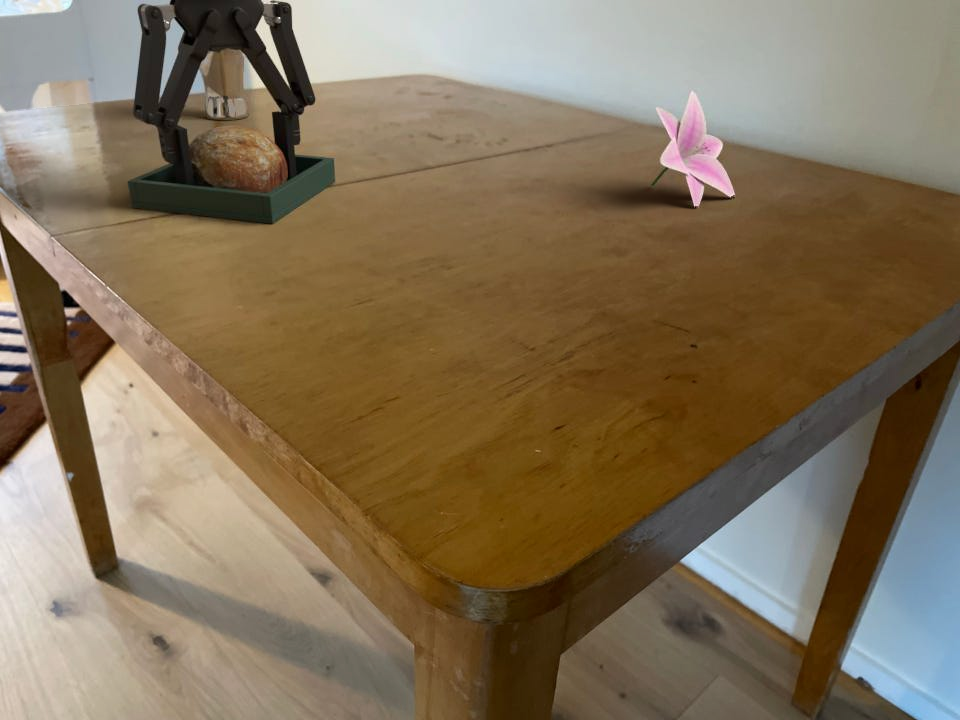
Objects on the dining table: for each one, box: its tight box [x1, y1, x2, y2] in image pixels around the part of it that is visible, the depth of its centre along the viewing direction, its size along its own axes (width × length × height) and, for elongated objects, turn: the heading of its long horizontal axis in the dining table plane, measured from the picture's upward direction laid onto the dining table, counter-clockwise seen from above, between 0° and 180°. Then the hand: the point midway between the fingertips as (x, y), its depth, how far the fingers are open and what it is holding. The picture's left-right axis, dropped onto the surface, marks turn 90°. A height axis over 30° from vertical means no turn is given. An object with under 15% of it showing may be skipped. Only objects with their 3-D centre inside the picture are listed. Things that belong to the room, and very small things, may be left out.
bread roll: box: [189, 124, 288, 193], centre depth 77 cm, size 10×10×8 cm
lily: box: [650, 90, 736, 207], centre depth 82 cm, size 12×12×10 cm
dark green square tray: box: [127, 153, 336, 225], centre depth 78 cm, size 15×15×3 cm
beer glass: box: [198, 48, 250, 121], centre depth 108 cm, size 7×7×15 cm
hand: (239, 186), depth 79 cm, fingers closed on bread roll, 10 cm apart
